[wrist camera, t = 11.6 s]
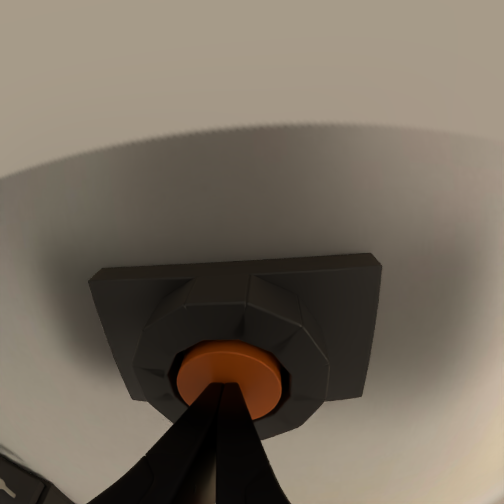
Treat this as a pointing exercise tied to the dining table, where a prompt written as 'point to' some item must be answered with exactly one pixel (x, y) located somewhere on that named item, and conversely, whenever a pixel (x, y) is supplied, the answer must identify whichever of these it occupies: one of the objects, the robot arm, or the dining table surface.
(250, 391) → the button
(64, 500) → the small storage cabinet
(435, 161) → the dining table surface
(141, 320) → the control block
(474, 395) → the dining table surface
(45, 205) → the dining table surface
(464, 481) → the dining table surface
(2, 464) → the drawer
